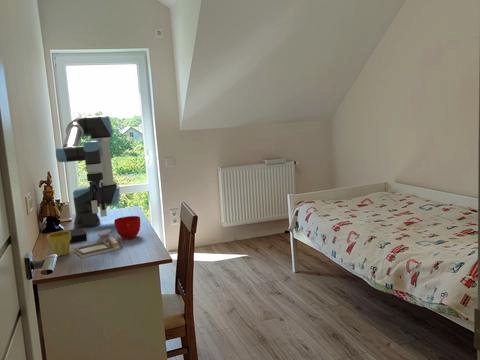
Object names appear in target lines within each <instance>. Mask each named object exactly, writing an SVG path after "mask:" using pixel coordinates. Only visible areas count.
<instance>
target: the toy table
mask: <svg viewBox="0 0 480 360" xmlns="http://www.w3.org/2000/svg"><path fill="white" fill-rule="evenodd" d="M110 234H112V229H110V228H106V229H103V230H99V231H98V232H97V234H96V235H97V237H99V238H98V239H97V241H96V243H100V242H105V243H107V242H108V239H107V237H109V236H110Z"/></svg>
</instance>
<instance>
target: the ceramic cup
mask: <svg viewBox="0 0 480 360" xmlns="http://www.w3.org/2000/svg"><path fill="white" fill-rule="evenodd" d="M114 226H115V231H116V232H117V234H118V236H121V238H122V239H123V240H132V239H135V238H137V235H138V234H139V232H140V229H141V217H140V216H137V215H129V216H122V217H117V218H115V219H114Z"/></svg>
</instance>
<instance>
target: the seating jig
mask: <svg viewBox="0 0 480 360" xmlns="http://www.w3.org/2000/svg"><path fill="white" fill-rule="evenodd" d="M122 239H123V238H122V237H121V236H120V235H118V236H117V240H118V241H117V242H118V247H113V246H112V244H111V243H110V242H106V241H105V242H100V243H97V242H96V243H95V242H94V243H91V244H87V245H83V246H82V245H81V246H78V247H74V251H73V252H74V253H75V254H77V255H78V256H79V257H80V258H87V257H90V256H91V257H92V256H94V255H99V254H103V253H107V252H112V251H116V250H121V249H123V240H122Z"/></svg>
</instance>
